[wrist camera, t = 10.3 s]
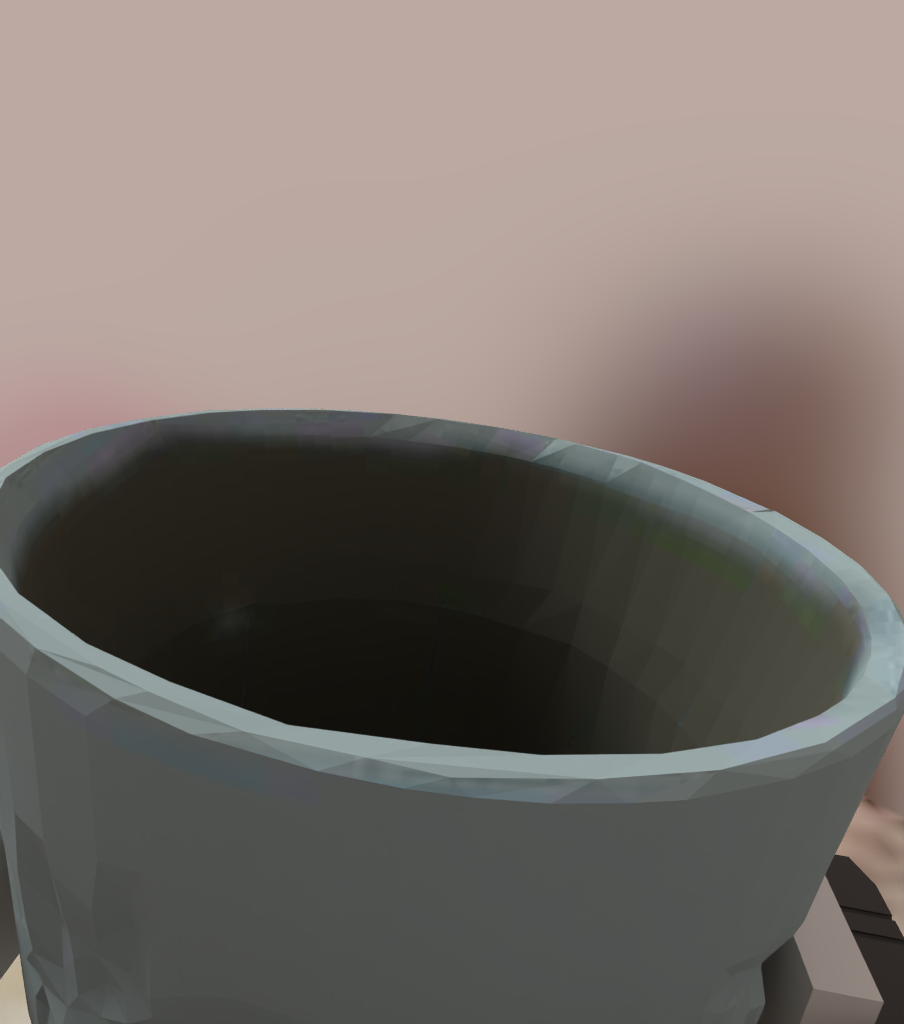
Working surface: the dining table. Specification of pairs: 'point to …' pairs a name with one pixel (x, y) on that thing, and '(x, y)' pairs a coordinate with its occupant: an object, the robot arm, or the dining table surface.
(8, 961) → the robot arm
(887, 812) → the dining table surface
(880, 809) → the dining table surface
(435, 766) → the grey green cup
